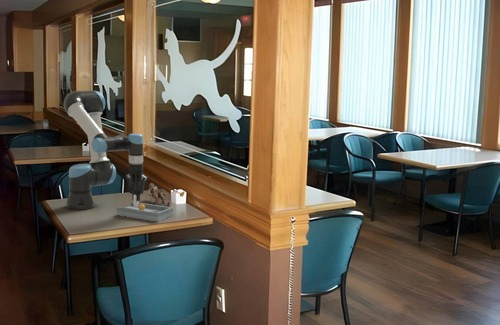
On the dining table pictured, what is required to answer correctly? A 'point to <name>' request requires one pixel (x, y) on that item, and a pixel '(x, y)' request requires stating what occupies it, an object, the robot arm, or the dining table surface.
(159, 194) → the figurine
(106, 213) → the dining table surface
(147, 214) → the tray
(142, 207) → the ball
